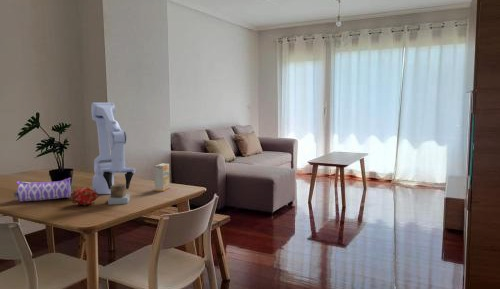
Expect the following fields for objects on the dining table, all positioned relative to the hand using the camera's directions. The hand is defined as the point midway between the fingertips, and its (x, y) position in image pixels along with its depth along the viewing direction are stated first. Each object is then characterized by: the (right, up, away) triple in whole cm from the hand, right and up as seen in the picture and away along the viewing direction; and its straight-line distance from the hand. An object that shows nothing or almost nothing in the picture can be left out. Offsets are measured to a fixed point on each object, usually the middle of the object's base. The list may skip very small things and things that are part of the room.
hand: (118, 188), depth 165 cm
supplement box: (+14, -4, +25) cm, 28 cm away
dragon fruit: (-13, -7, -4) cm, 15 cm away
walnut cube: (0, -3, 0) cm, 3 cm away
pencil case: (-35, -6, +3) cm, 35 cm away
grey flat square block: (0, -6, +1) cm, 6 cm away
